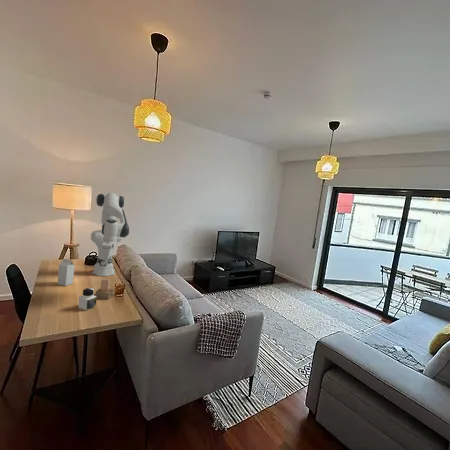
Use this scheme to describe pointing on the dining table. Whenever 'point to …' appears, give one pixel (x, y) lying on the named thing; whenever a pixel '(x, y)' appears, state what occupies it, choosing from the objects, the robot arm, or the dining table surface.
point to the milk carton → (65, 272)
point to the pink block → (105, 284)
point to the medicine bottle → (87, 299)
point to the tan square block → (105, 294)
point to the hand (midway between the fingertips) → (107, 262)
